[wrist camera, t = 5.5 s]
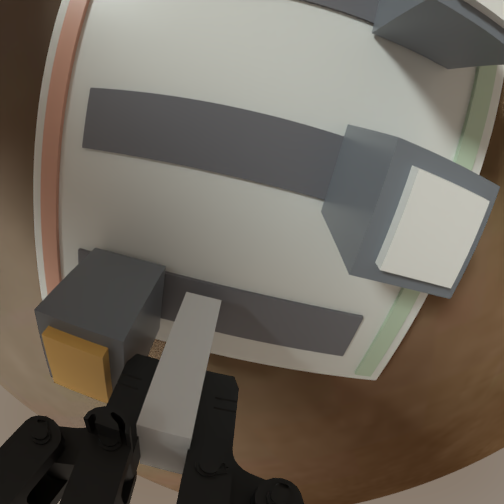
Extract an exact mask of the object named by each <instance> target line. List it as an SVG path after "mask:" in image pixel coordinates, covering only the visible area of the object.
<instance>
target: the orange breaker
mask: <svg viewBox="0 0 504 504" xmlns="http://www.w3.org/2000/svg"><path fill="white" fill-rule="evenodd" d="M165 270H166V266H163V265H159V264H156V263H152V262H148V261H144V260H140V259H136V258H132V257H129V256H125V255H121V254H117V253H114V252H110V251H106V250H103V249H99V248H94V249H93V250H92V251H91V252H90V253H89V254H88V255H87V256H86V257H85V258H84V259H83V260H82V261H81V262H80V263H79V264H78V265H77V266H76V267H75V268H74V269H73V270H72V271H71V272H70V273H69V274H68V275H67V276H66V277H65V278H64V279H63V280H62V281H61V282H60V283H59V284H58V285H57V286H56V287H55V288H54V289H53V290H52V291H51V292H50V293H49V294H48V295H47V296H46V298H45V299H44V300H43V301H42V302H41V303H40V304H39V305H38V306H37V307H36V308H35V309H34V310H35V315H36V320H37V325H38V329H39V334H40V338H41V342H42V346H43V350H44V354H45V358H46V361H47V365H48V368H49V372H50V375H51V377H52V378H53V380H54V383H57V384H59V385H61V386H64V387H66V388H68V389H71V390H73V391H76V392H78V393H81V394H83V395H86V396H88V397H91V398H94V399H96V400H99V401H102V402H104V403H108V401H109V399H110V397H111V394H112V392H113V390H114V388H115V386H116V384H117V381H118V379H119V377H120V375H121V373H122V371H123V368H124V366H125V364H126V362H127V361H128V360H129V359H131V358H132V357H133V356H134V355H135V354H141V355H144V356H148V354H149V352H150V349H151V347H152V345H153V342H154V340H155V338H156V335H157V333H158V331H159V329H160V319H161V308H162V297H163V288H164V279H165Z"/></svg>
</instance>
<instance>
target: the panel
mask: <svg viewBox="0 0 504 504" xmlns="http://www.w3.org/2000/svg"><path fill="white" fill-rule="evenodd" d="M503 79H504V0H62V2H61V5H60V8H59V11H58V15H57V18H56V22H55V25H54V29H53V33H52V37H51V41H50V45H49V50H48V54H47V59H46V64H45V69H44V74H43V80H42V86H41V92H40V99H39V107H38V115H37V125H36V136H35V150H34V174H33V205H34V230H35V244H36V256H37V266H38V274H39V282H40V289H41V296H42V301H43V300H44V299H45V298H46V296H47V295H48V294H49V293H50V292H51V291H52V290H53V289H54V288H55V287H56V286H57V285H58V284H59V283H60V282H61V281H62V280H63V279H64V278H65V277H66V276H67V275H68V274H69V273H70V272H71V271H72V270H73V269H74V268H75V267H76V266H77V265H78V264H79V263H80V262H81V261H82V260H83V259H84V258H85V257H86V256H87V255H88V254H89V253H90V252H91V251H92V250H93V249H94V248H99V249H103V250H106V251H110V252H114V253H117V254H121V255H125V256H129V257H132V258H136V259H140V260H144V261H148V262H152V263H156V264H159V265H163V266H166V270H165V279H164V288H163V297H162V308H161V319H160V329H159V331H158V333H157V335H156V338H155V339H158V340H161V341H165V342H167V340H168V337H169V334H170V332H171V329H172V327H173V324H174V322H175V319H176V317H177V314H178V312H179V309H180V307H181V304H182V302H183V299H184V297H185V294H186V292H190V293H194V294H198V295H202V296H206V297H210V298H215V299H219V300H222V301H221V305H220V310H219V314H218V319H217V323H216V328H215V332H214V337H213V341H212V346H211V351H210V353H213V354H217V355H222V356H226V357H231V358H235V359H240V360H245V361H250V362H255V363H260V364H265V365H271V366H276V367H282V368H287V369H293V370H299V371H306V372H312V373H319V374H326V375H333V376H341V377H349V378H358V379H367V380H376V379H377V378H378V377H379V375H380V374H381V372H382V371H383V369H384V368H385V366H386V365H387V363H388V362H389V360H390V358H391V357H392V355H393V354H394V352H395V351H396V349H397V347H398V346H399V344H400V343H401V341H402V339H403V338H404V336H405V334H406V333H407V331H408V329H409V328H410V326H411V324H412V323H413V321H414V319H415V317H416V316H417V314H418V312H419V310H420V308H421V307H422V305H423V303H424V301H425V299H426V297H427V295H428V294H432V295H436V296H440V297H444V298H448V299H450V298H451V297H452V295H453V293H454V291H455V289H456V287H457V285H458V283H459V282H460V280H461V278H462V276H463V274H464V272H465V270H466V268H467V265H468V263H469V261H470V259H471V257H472V255H473V253H474V251H475V248H476V246H477V244H478V242H479V239H480V237H481V235H482V232H483V230H484V228H485V225H486V223H487V220H488V218H489V215H490V213H491V210H492V208H493V205H494V202H495V199H496V197H497V194H498V191H499V188H500V186H498V185H496V184H494V183H493V182H491V181H489V180H487V179H485V178H484V177H482V176H480V175H479V174H480V171H481V168H482V165H483V161H484V158H485V155H486V152H487V148H488V145H489V141H490V137H491V134H492V130H493V126H494V122H495V118H496V113H497V109H498V105H499V100H500V95H501V90H502V84H503Z"/></svg>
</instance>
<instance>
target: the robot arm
mask: <svg viewBox="0 0 504 504" xmlns="http://www.w3.org/2000/svg"><path fill="white" fill-rule="evenodd" d="M221 301H222V300H219V299H215V298H210V297H206V296H202V295H198V294H194V293H190V292H186V294H185V297H184V299H183V302H182V304H181V307H180V309H179V312H178V314H177V317H176V319H175V322H174V324H173V327H172V329H171V332H170V334H169V337H168V340H167V342H166V345H165V347H164V350H163V353H162V355H161V358H160V360H158V359H155V358H151V357H147V356H144V355H141V354H135V355H134V356H133V357H132V358H131V359H129V360H128V361H127V362H126V364H125V366H124V368H123V371H122V373H121V375H120V377H119V379H118V381H117V384H116V386H115V388H114V390H113V392H112V394H111V397H110V399H109V401H108V403H107V406H106V407H105V406H104V407H97V408H94V409H92V410H91V411H89V412H88V413H87V414H86V415H85V417H84V421H85V424H86V428H70V427H60V426H58V425H57V424H56V423H55V421H54V420H52V419H50V418H48V417H46V416H39V415H38V416H34V417H31V418H29V419H28V420H26V421H25V422H24V423H23V424H22V425H21V426H20V427H19V428H18V429H17V430H16V432H14V433H13V435H12V436H11V437H10V438H9V439H8V440H7V441H6V442H5V443H4V444H3V445H2V446H1V447H0V504H57V503H58V502H59V501H60V499H61V501H60V504H129V503H130V500H131V496H132V492H133V489H134V485H135V482H136V476H137V471H136V470H137V467H138V463H139V460H140V463H141V464H145V465H148V466H152V467H155V468H159V469H163V470H167V471H171V472H175V473H179V474H182V479H181V484H180V489H179V494H178V499H177V504H304V502H303V499H302V496H301V493H300V491H299V489H298V488H297V486H295V485H294V484H293V483H292V482H290V481H288V480H285V479H282V478H272V479H268V480H264V479H262V478H259V477H257V476H255V475H252V474H250V473H248V472H246V471H245V470H243V469H242V468H241V467H240V466H239V465H238V464H237V463H236V461H235V459H234V456H233V451H232V447H233V438H234V429H235V419H236V410H237V400H238V391H239V388H238V386H237V383H236V381H235V378H234V377H233V376H228V375H223V374H218V373H214V372H209V371H206V369H207V364H208V360H209V355H210V351H211V346H212V341H213V337H214V332H215V328H216V323H217V319H218V314H219V310H220V305H221Z"/></svg>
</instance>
